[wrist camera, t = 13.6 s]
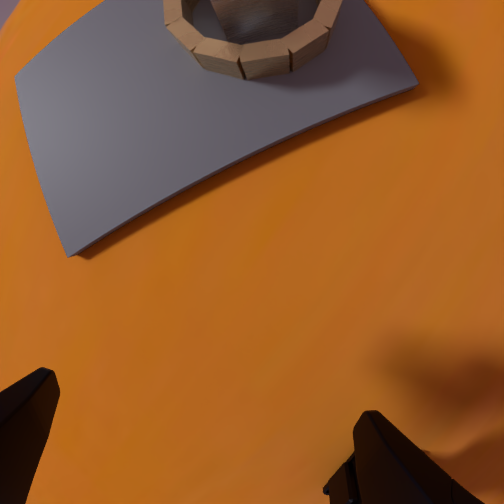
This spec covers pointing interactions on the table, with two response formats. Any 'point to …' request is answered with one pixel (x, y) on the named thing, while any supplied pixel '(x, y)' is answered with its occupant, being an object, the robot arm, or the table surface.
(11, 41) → the table surface
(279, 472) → the table surface
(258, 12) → the tall lilac block
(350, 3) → the stove plate
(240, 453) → the table surface
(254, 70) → the collar
